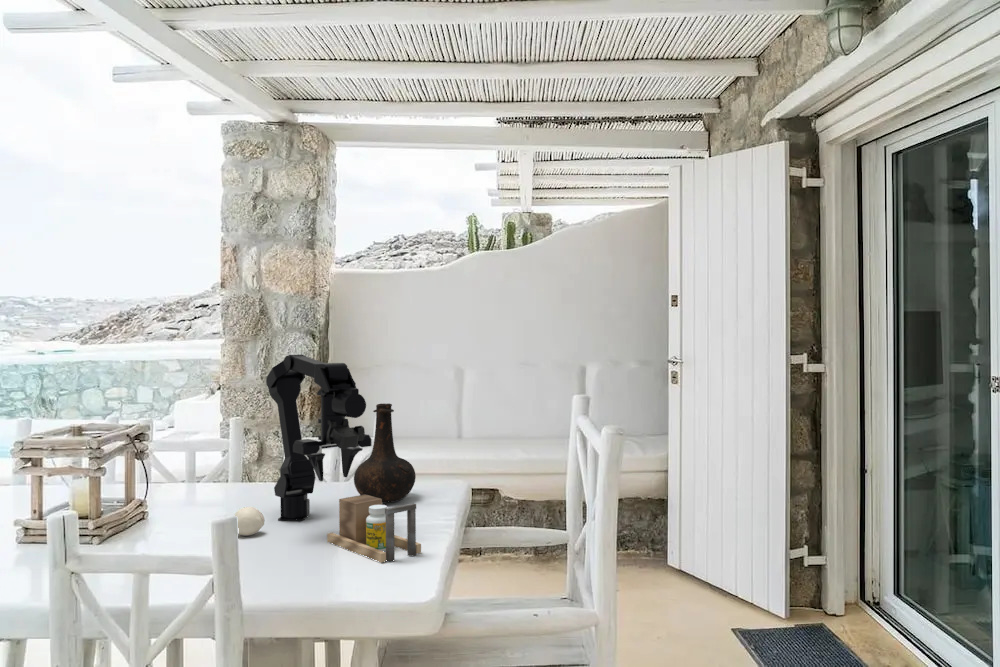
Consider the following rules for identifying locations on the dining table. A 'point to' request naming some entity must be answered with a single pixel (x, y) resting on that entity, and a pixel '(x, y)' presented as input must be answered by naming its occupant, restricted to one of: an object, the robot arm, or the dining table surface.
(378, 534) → the supplement bottle
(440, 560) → the dining table surface
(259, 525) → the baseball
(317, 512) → the dining table surface
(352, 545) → the channel
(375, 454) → the glass bottle
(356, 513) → the block
